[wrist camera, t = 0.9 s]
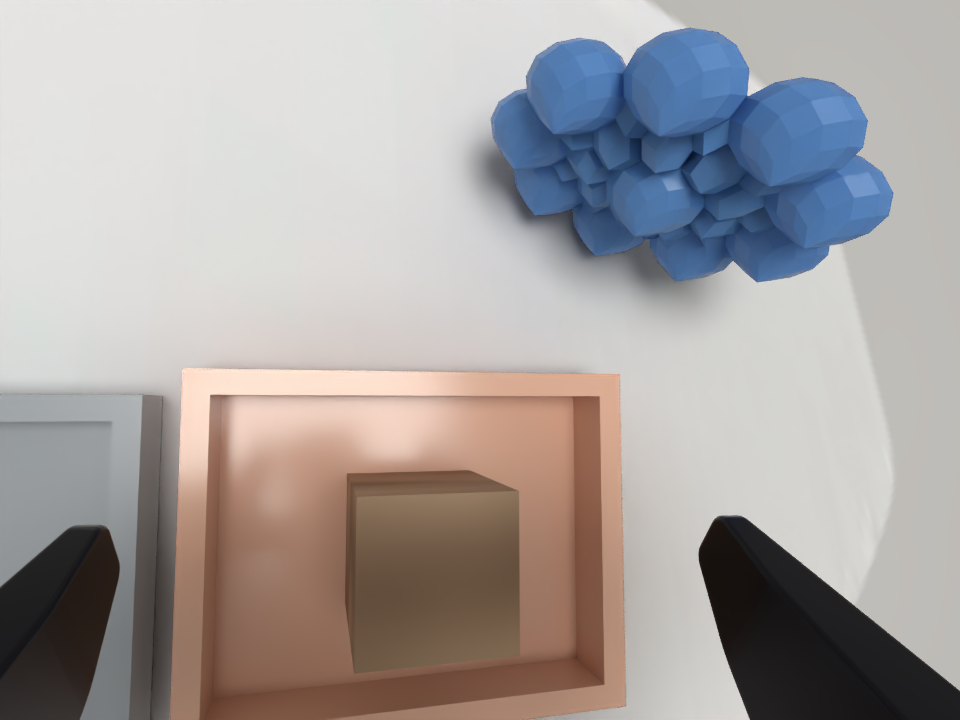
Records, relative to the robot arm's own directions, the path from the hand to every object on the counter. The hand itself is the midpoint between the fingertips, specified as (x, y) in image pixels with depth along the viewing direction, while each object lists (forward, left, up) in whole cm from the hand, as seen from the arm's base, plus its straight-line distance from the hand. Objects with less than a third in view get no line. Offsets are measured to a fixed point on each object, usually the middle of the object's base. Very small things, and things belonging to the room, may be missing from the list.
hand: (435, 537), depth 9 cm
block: (-3, -1, -13) cm, 14 cm away
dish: (-3, -1, -14) cm, 14 cm away
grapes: (+10, -9, -14) cm, 20 cm away
